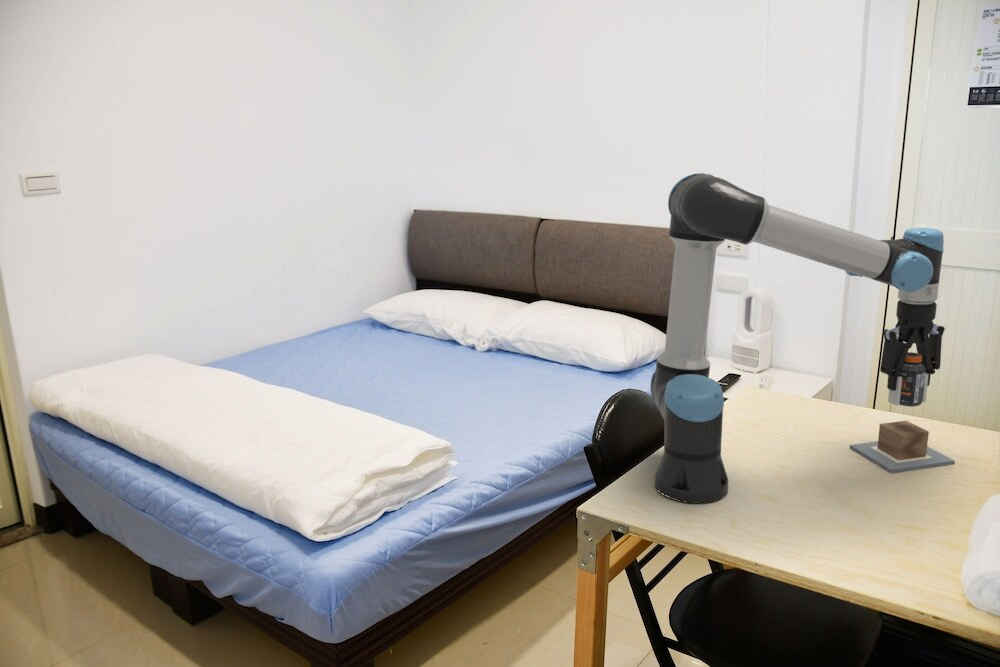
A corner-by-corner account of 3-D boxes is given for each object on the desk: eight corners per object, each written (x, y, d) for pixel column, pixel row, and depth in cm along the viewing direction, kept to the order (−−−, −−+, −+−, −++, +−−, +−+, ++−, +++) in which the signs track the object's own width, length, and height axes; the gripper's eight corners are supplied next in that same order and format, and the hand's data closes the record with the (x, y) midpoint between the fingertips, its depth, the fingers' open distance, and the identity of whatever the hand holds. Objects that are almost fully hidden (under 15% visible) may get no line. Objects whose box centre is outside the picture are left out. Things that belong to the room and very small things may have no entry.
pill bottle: (885, 401, 175) (890, 352, 172) (904, 396, 178) (909, 348, 175) (909, 409, 170) (914, 359, 167) (927, 404, 172) (933, 355, 169)
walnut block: (898, 460, 173) (901, 435, 171) (877, 448, 180) (879, 423, 178) (925, 456, 174) (928, 431, 173) (903, 444, 181) (906, 420, 179)
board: (891, 473, 169) (891, 469, 169) (849, 448, 182) (850, 444, 182) (954, 463, 172) (954, 460, 172) (909, 440, 185) (909, 436, 185)
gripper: (890, 308, 162) (880, 412, 168) (968, 300, 166) (956, 402, 172) (866, 300, 169) (858, 400, 175) (941, 293, 173) (930, 391, 179)
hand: (906, 401), depth 174 cm, fingers closed on pill bottle, 6 cm apart
